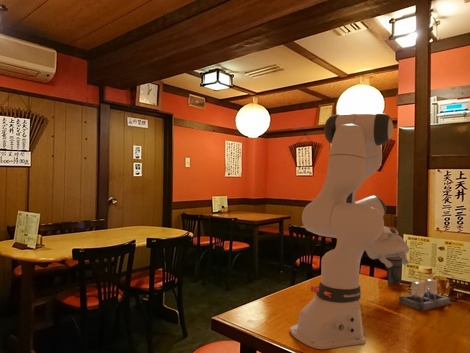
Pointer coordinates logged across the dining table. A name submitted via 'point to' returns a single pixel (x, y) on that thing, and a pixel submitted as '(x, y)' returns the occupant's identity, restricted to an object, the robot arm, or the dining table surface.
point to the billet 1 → (418, 291)
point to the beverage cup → (394, 270)
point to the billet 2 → (431, 288)
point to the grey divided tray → (426, 304)
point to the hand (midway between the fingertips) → (398, 265)
